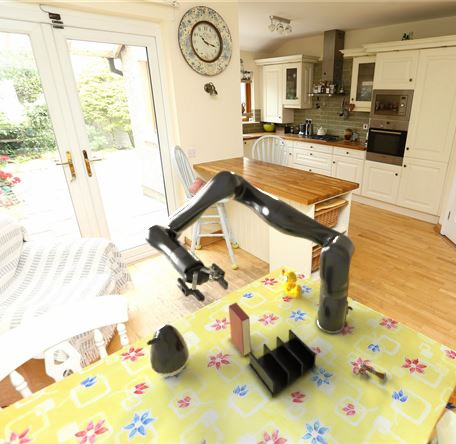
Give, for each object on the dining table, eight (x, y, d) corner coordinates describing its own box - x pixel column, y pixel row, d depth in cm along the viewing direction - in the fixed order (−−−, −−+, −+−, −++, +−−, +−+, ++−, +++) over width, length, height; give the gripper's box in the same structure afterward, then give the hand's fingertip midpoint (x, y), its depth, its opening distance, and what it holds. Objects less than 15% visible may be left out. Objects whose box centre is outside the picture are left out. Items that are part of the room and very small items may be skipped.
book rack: (290, 341, 94) (290, 328, 92) (315, 367, 85) (316, 353, 83) (248, 366, 85) (248, 352, 83) (272, 397, 76) (272, 383, 74)
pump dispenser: (145, 372, 83) (134, 332, 77) (175, 347, 91) (167, 309, 85) (168, 390, 78) (159, 348, 72) (197, 362, 86) (191, 323, 80)
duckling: (276, 289, 119) (276, 269, 115) (286, 284, 122) (287, 264, 118) (294, 304, 111) (295, 282, 107) (305, 298, 114) (306, 277, 110)
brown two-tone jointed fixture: (352, 369, 84) (361, 360, 82) (377, 381, 84) (386, 372, 82) (353, 375, 82) (361, 365, 80) (378, 387, 82) (387, 377, 80)
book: (238, 336, 96) (236, 302, 90) (251, 352, 90) (249, 317, 84) (231, 340, 94) (228, 305, 88) (243, 356, 88) (241, 321, 83)
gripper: (165, 261, 88) (196, 295, 80) (205, 246, 98) (235, 275, 91) (165, 279, 92) (194, 312, 84) (203, 263, 102) (232, 292, 95)
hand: (215, 293), depth 88 cm, fingers open, 8 cm apart
